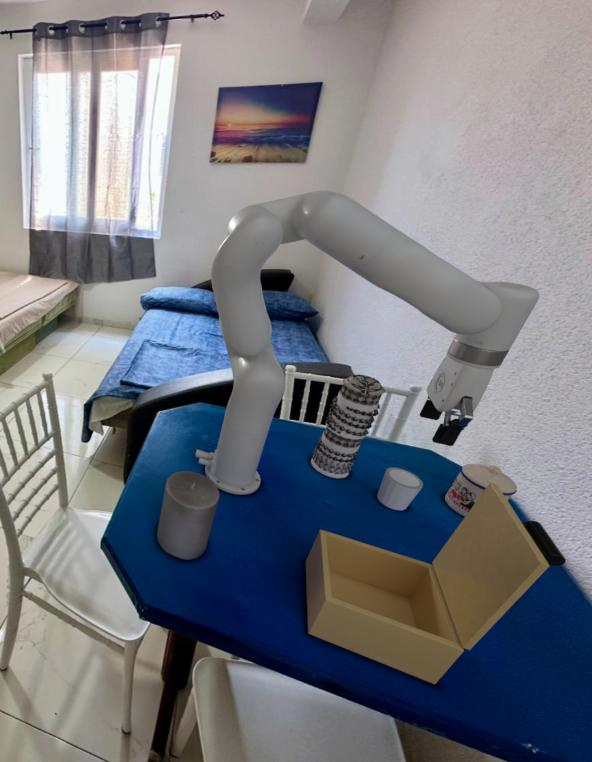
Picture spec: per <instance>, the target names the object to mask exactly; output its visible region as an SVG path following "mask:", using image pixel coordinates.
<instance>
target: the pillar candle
mask: <svg viewBox="0 0 592 762" xmlns="http://www.w3.org/2000/svg"><path fill="white" fill-rule="evenodd" d="M219 490H220V489H219V488H218V487H217V486H216V485H215V484H214V482H212V481H211V480H210V479H209V478H207V476H206V475H204V474H201V473H199V472H195V471H189V470H181V471H177V472H174V473H172V474H171V475H169V477H168V478H167V480H166V483H165V488H164V491H163V492H164V493H163V497H162V498H163V499H162V503H161V504H162V505H161V510H160V515H159V521H158V526H157V532H156V536H157V537H156V538H157V542H158V544H159V545H160V547H161V548H162V549H163V550H164V551H165V552H166V553H167V554H169V555H171V556H174V557H175V558H178V559H182V560H187V561H188V560H193V559H196V558H199V557H201V556H202V555H203V553H204V552H205V550H207V547H208V543H209V539H210V534H211V530H212V527H213V523H214V518H215V514H216V511H217V507H218V503H219V499H220V491H219Z"/></svg>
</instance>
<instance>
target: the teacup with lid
mask: <svg viewBox="0 0 592 762" xmlns="http://www.w3.org/2000/svg"><path fill="white" fill-rule="evenodd" d="M459 470H460V472H459V473H458V475H457V477H456V478H455V479H454V481H453V483H452V484H451V487H449V489H448V491H447V492H446V494H445V497H444V500H445V502H446V504H447V505H448V507H450V508H451V509H452V510H453V511H454V512H456V513H458V514H459V515H461V516H463V517H465V516H466V515H467V514H468V512H469V511H470V510H471V508H472V507H473V505H474V504H475V503H476V501H477V500H478V499H479V497H480V496H481V494H482V493H483V492H484V490H485V489H486V488H487V486H488V485H489V483H494V484H497V485H498V487H499V488H500V490H501V492H502V493H503V495H504V496H505V498H506V499H507V501H508V502H509V500H510V499H511V498H512V496H513V495H515V494H516V493H517V490H518V486H517V484H516V482H515V481H514V480H513V479H512V478H511V477H510V476H508V475H507V474H505V473H504V472H502V469H501V468H500V467H499V466H497V465H492V464H491V465H483V464H478V463H467V464H464V465H463V466H461V467H460V469H459Z"/></svg>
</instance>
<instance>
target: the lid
mask: <svg viewBox="0 0 592 762" xmlns="http://www.w3.org/2000/svg"><path fill="white" fill-rule="evenodd" d="M566 562H567V560H566V558H565V557H564V555H563V554H562V552H561V551H560V549H559V547H558V546H557V545H556V543H555V542H554V541H553V539H552V537H550V535H549V534H548V532H547V531H546V529H545V528H544V526H543V525H542V523H540V522H539V521H537V520H527V521H521V519H520V518H519V516H518V515H517V513H516V512H515V510H514V508H513V507H512V505H511V504H510V502H509V500H508V501H507V499H506V498H505V496H504V495H503V493H502V492H501V490H500V488H499V487H498V485H497V484H494V483H489V485H488V486H487V488H486V489H485V490H484V492H483V493H482V494H481V496H480V497H479V499H478V500H477V501H476V503H475V504H474V505H473V507H472V508H471V510H470V511H469V512H468V514H467V515H466V516H464V518H463V519H462V521H461V522H460V524H459V525H458V526H457V528H456V529H455V530H454V532H452V534H451V536H450V537H449V539H447V541H446V542H445V544H444V545H443V546H442V548H441V549H440V551H439V552H438V553H437V555H436V556H435V558H434V559H433V561H432V562H431V563H432V565H433V566H434V569H435V572H436V574H437V577H438V580H439V583H440V586H441V588H442V591H443V594H444V597H445V600H446V602H447V605H448V608H449V611H450V614H451V616H452V619H453V622H454V625H455V628H456V630H457V633H458V636H459V639H460V642H461V644H462V647H463V649H464V650H467V651H471V650H472V649H473V648H474V647H475V645H477V643H478V642H479V641H480V640H482V638H483V637H484V636H485V635H486V634H487V633H488V632H489V631H490V630H491V629H492V628H493V627H494V626H495V624H496V623H497V622H498V621H499V620H500V619H501V618H502V617H504V615H505V614H506V613H507V612H508V611H509V610H510V609H511V607H513V606H514V604H515V603H516V602H518V600H519V599H520V598H522V596H523V595H524V594H525V593H526V592H527V591H528V590H529V589H530V587H532V585H533V584H534V583H535V582H536V581H537V580H538V579H539V578H541V576H542V575H543V574H544V573H545V572H546V571H547V570H548V569H549V567H550V566H551V567H552V566H553V567H558V566H563V565H564V564H565V563H566Z"/></svg>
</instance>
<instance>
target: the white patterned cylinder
mask: <svg viewBox="0 0 592 762" xmlns="http://www.w3.org/2000/svg"><path fill="white" fill-rule="evenodd" d="M385 392H386V389H385V388H384V387H383V386H382V383H381V382H380V381H379V380H378V379H376V378H374V377H372V376H369V375H365V374H352V375H351V376H349V377H345V378H343V379H342V386H341V389H340V390H339V391H338V394H337V396H335V397H334V398H333V399H332V402H331V404H330V408H329V412H328V413H327V417H326V418H325V419H326V420H325V426H326V427H325V430H324V431H323V433H322V435H321V436H320V437H319V438H318V442H317V444H316V447H315V448H314V451H313V453H312V457H311V460H310V464H311V466H312V467H313V468H314V470H316V471H317V472H319V473H320V474H322V475H323V476H326V477H329V478H333V479H345V478H347V477H348V476H349V475H350V471H352V466H354V465H355V464H354V462H355V460H357V456H358V455H359V451H360V450H359V449H360V447H361V442H362V440H363V439H364V438H366V437H367V435H368V434H369V431H368V430H370V429H371V428H372V427H373V426H372V424H373V423H374V422H375V420H376V419H375V418H374V417H377V415H378V416H379V414H380V413H379V410H381V405H380V400H381V398H382V395H384V394H385Z"/></svg>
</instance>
